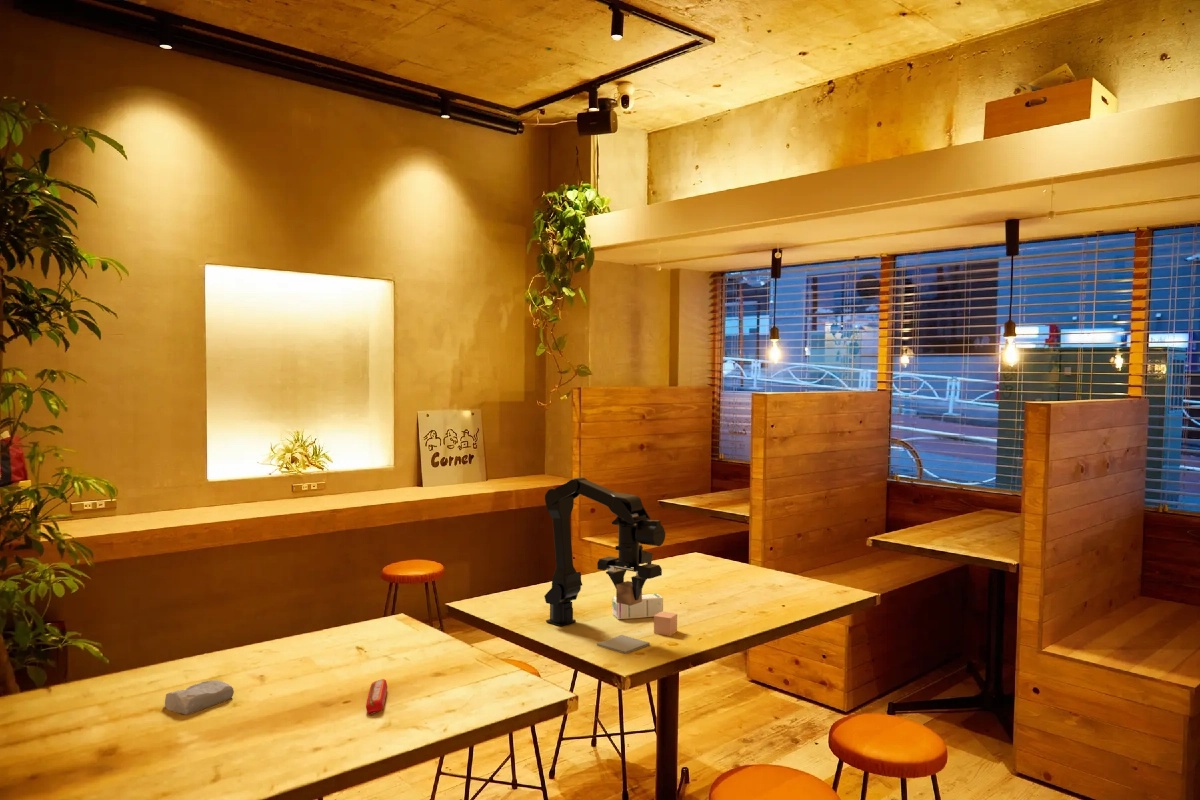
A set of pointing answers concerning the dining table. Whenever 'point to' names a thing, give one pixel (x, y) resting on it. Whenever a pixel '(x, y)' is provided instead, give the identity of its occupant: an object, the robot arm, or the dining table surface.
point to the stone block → (198, 697)
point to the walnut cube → (626, 594)
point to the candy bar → (376, 696)
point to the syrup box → (639, 607)
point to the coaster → (623, 644)
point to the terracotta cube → (665, 623)
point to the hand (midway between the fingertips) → (629, 598)
